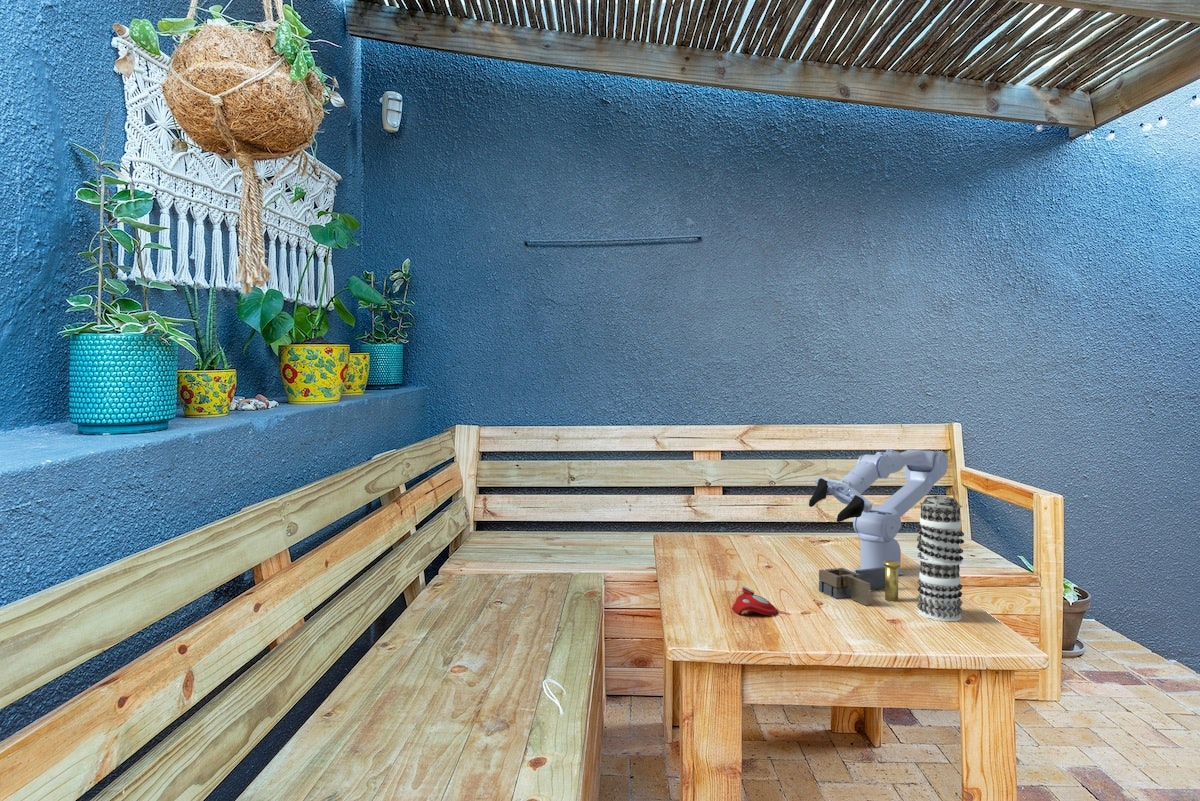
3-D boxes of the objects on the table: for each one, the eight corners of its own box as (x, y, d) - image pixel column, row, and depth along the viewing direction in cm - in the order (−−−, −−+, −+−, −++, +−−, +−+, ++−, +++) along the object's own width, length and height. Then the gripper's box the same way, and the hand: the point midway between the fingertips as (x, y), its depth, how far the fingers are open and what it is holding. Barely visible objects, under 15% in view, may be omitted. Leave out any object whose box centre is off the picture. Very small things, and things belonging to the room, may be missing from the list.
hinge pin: (892, 597, 165) (892, 559, 165) (903, 601, 162) (904, 563, 162) (879, 598, 164) (879, 561, 164) (890, 603, 161) (890, 564, 161)
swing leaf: (818, 590, 170) (818, 570, 170) (842, 587, 172) (842, 567, 172) (855, 606, 158) (855, 585, 157) (880, 603, 160) (880, 582, 160)
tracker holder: (787, 609, 154) (755, 605, 149) (780, 627, 155) (747, 625, 149) (750, 582, 164) (718, 578, 159) (743, 600, 165) (712, 597, 160)
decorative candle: (905, 611, 155) (906, 495, 154) (937, 606, 158) (938, 493, 158) (941, 624, 146) (942, 502, 146) (973, 618, 150) (974, 499, 149)
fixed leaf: (836, 599, 164) (836, 577, 164) (818, 591, 170) (818, 570, 170) (894, 592, 169) (895, 571, 169) (875, 584, 175) (875, 564, 175)
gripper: (831, 458, 182) (800, 484, 175) (884, 484, 173) (853, 513, 166) (827, 479, 186) (797, 506, 179) (879, 506, 177) (849, 535, 170)
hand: (824, 511), depth 173 cm, fingers open, 7 cm apart
